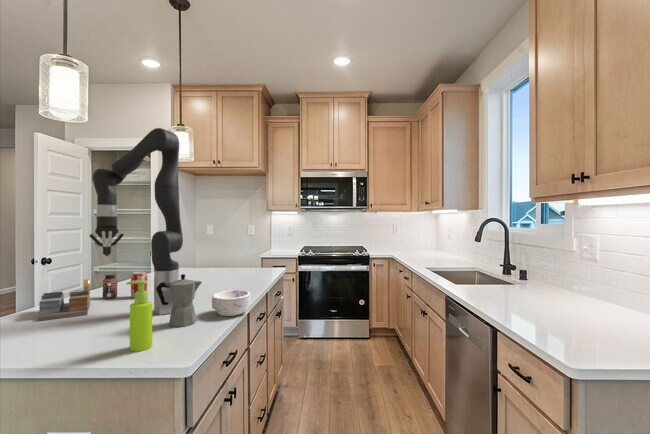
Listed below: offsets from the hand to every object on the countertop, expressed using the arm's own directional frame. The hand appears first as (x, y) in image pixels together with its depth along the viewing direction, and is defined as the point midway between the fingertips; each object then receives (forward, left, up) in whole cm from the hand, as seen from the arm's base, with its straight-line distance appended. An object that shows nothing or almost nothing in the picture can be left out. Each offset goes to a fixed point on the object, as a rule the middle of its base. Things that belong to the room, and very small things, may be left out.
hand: (106, 255), depth 146 cm
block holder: (0, +14, -22) cm, 26 cm away
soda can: (+13, -13, -23) cm, 29 cm away
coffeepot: (-41, -23, -22) cm, 52 cm away
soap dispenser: (-59, -9, -22) cm, 64 cm away
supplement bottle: (+19, -1, -23) cm, 30 cm away
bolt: (0, +9, -16) cm, 18 cm away
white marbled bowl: (-38, -43, -23) cm, 61 cm away
